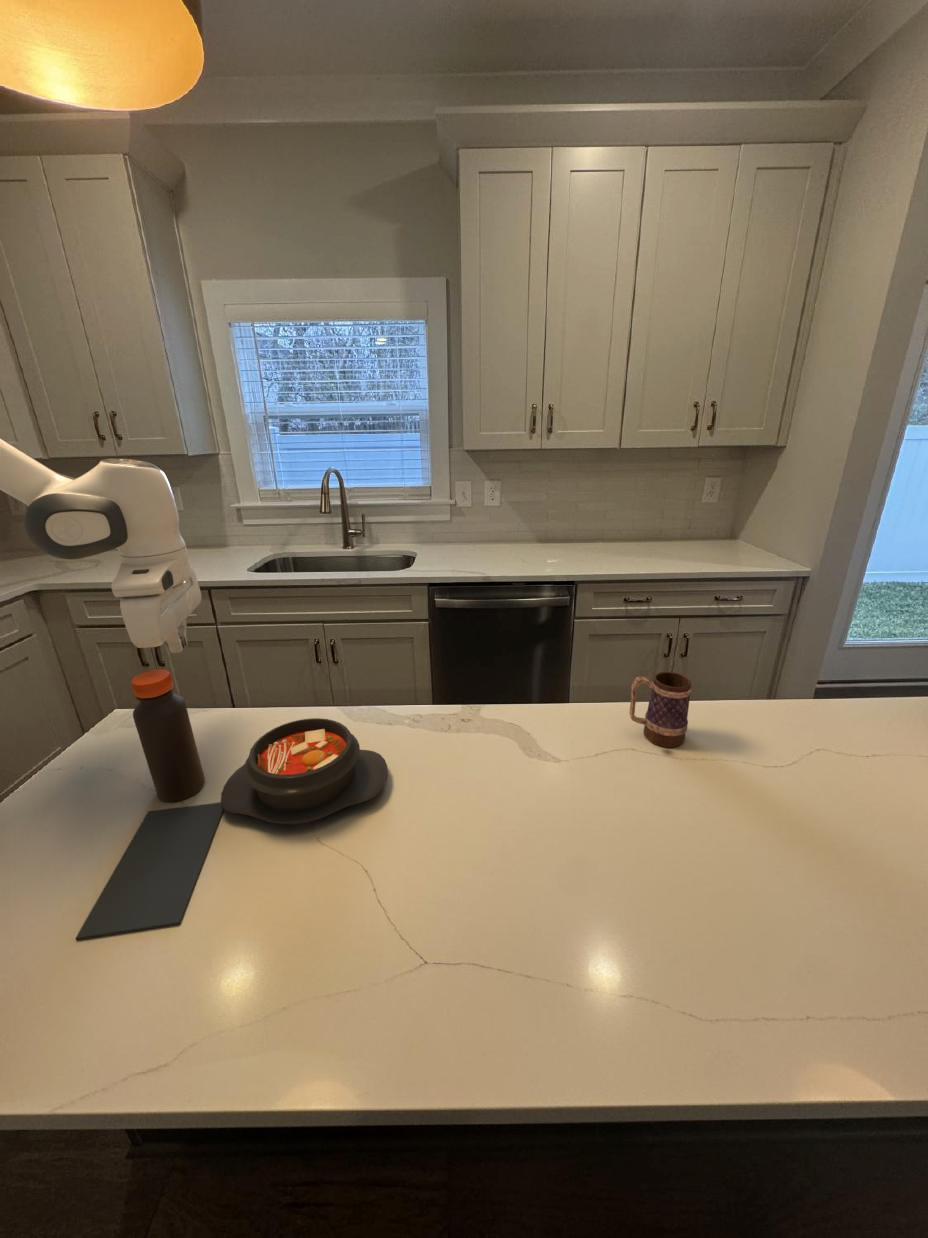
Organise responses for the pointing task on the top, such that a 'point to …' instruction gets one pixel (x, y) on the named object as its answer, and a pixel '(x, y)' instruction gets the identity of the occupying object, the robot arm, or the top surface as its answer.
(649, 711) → the mug
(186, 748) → the vinegar
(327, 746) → the casserole
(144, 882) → the mat
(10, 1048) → the top surface
